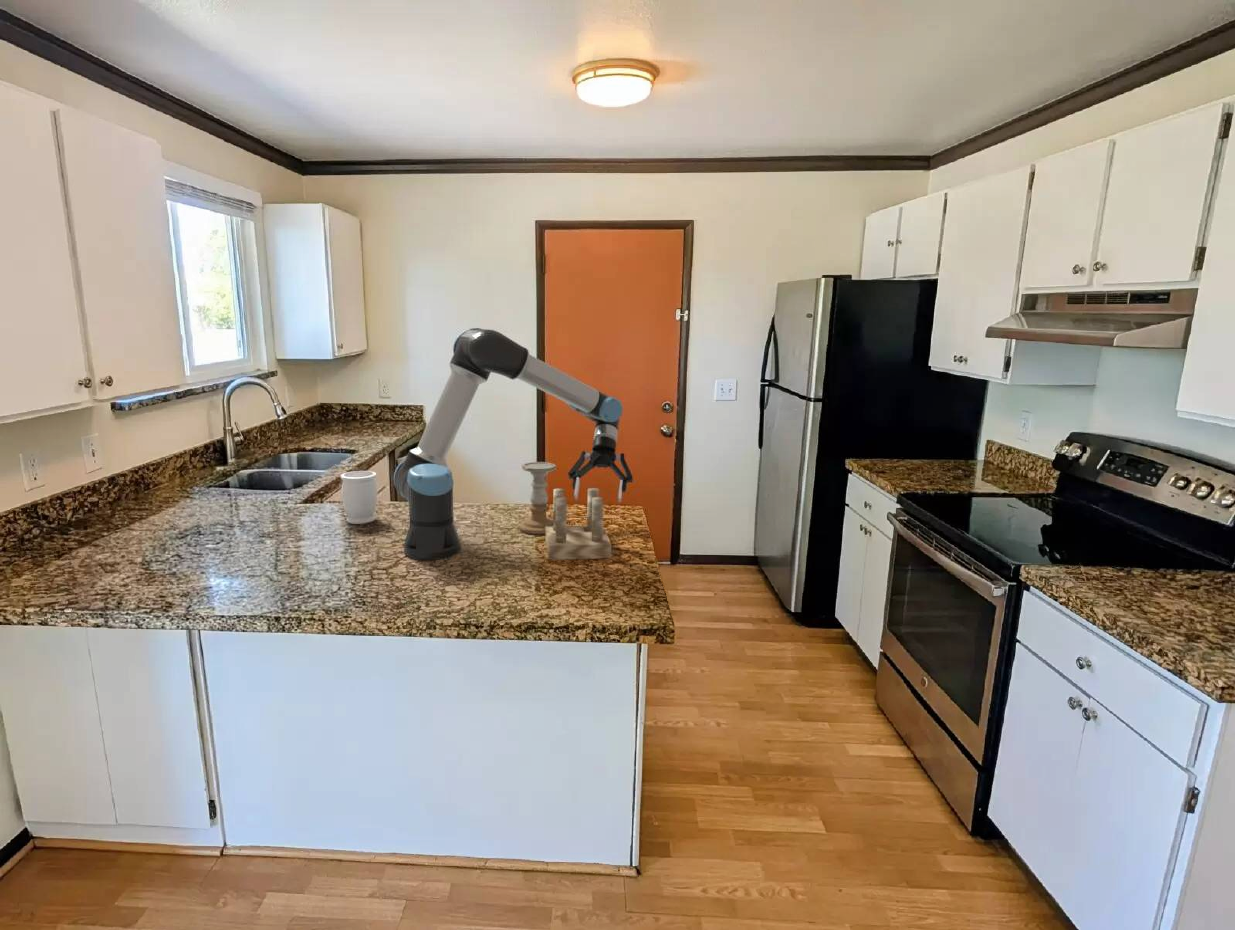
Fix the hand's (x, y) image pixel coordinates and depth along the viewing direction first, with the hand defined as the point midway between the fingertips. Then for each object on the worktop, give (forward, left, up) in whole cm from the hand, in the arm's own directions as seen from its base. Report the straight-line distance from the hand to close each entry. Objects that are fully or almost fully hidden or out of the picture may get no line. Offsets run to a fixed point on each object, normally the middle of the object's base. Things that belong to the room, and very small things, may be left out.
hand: (597, 499), depth 203 cm
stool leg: (-3, -10, -10) cm, 15 cm away
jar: (-73, +16, -10) cm, 75 cm away
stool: (-8, -15, -10) cm, 20 cm away
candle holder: (-18, +4, -10) cm, 21 cm away
